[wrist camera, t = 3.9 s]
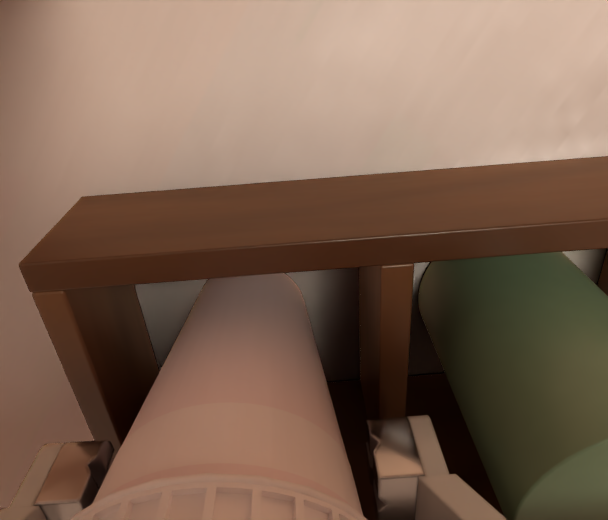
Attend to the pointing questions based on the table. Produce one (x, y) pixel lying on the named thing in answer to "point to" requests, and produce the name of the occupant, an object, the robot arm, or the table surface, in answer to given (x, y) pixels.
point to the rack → (296, 258)
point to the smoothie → (235, 419)
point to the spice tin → (527, 377)
